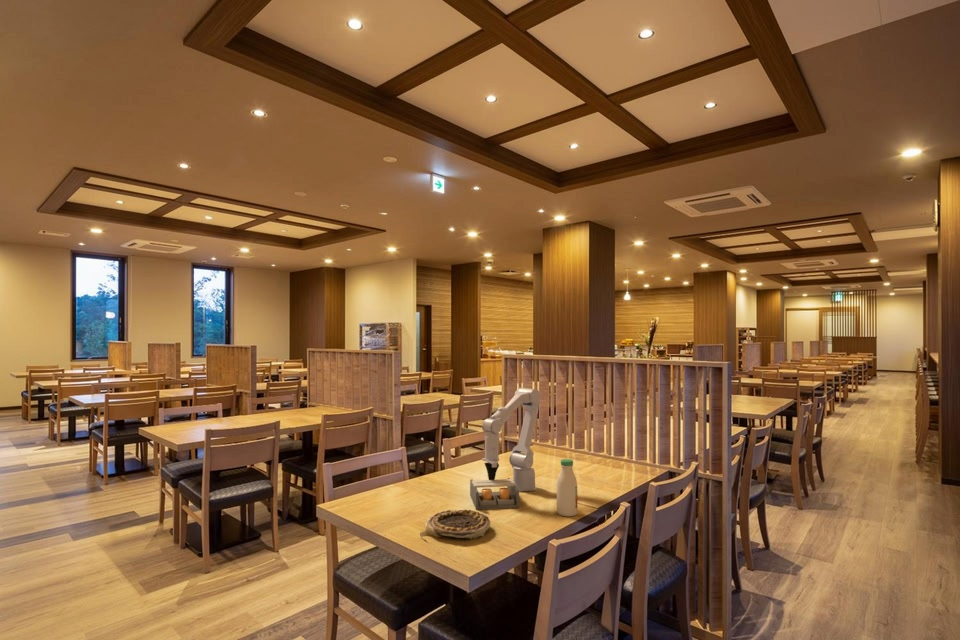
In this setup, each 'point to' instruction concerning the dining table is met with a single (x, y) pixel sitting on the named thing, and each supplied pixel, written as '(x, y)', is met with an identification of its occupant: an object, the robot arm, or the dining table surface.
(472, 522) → the pie
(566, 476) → the milk bottle
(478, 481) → the lid
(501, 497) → the orange rounded block
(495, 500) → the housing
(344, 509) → the dining table surface
